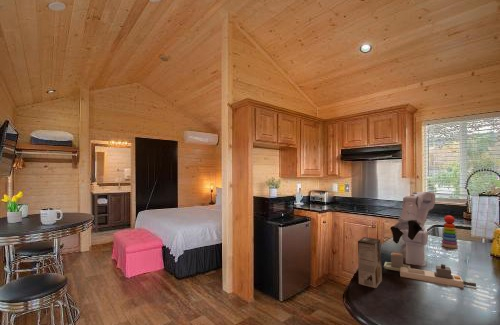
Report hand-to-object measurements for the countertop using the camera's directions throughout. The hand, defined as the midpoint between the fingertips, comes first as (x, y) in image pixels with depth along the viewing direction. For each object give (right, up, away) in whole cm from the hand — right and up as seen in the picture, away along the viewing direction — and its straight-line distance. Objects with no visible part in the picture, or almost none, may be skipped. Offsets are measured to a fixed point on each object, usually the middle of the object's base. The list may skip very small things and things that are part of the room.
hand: (402, 240), depth 110 cm
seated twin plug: (+10, -13, -10) cm, 19 cm away
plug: (0, -14, +5) cm, 15 cm away
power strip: (+8, -13, -9) cm, 18 cm away
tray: (0, -14, +5) cm, 15 cm away
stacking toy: (+56, -18, +46) cm, 74 cm away
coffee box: (-19, -13, -11) cm, 26 cm away
